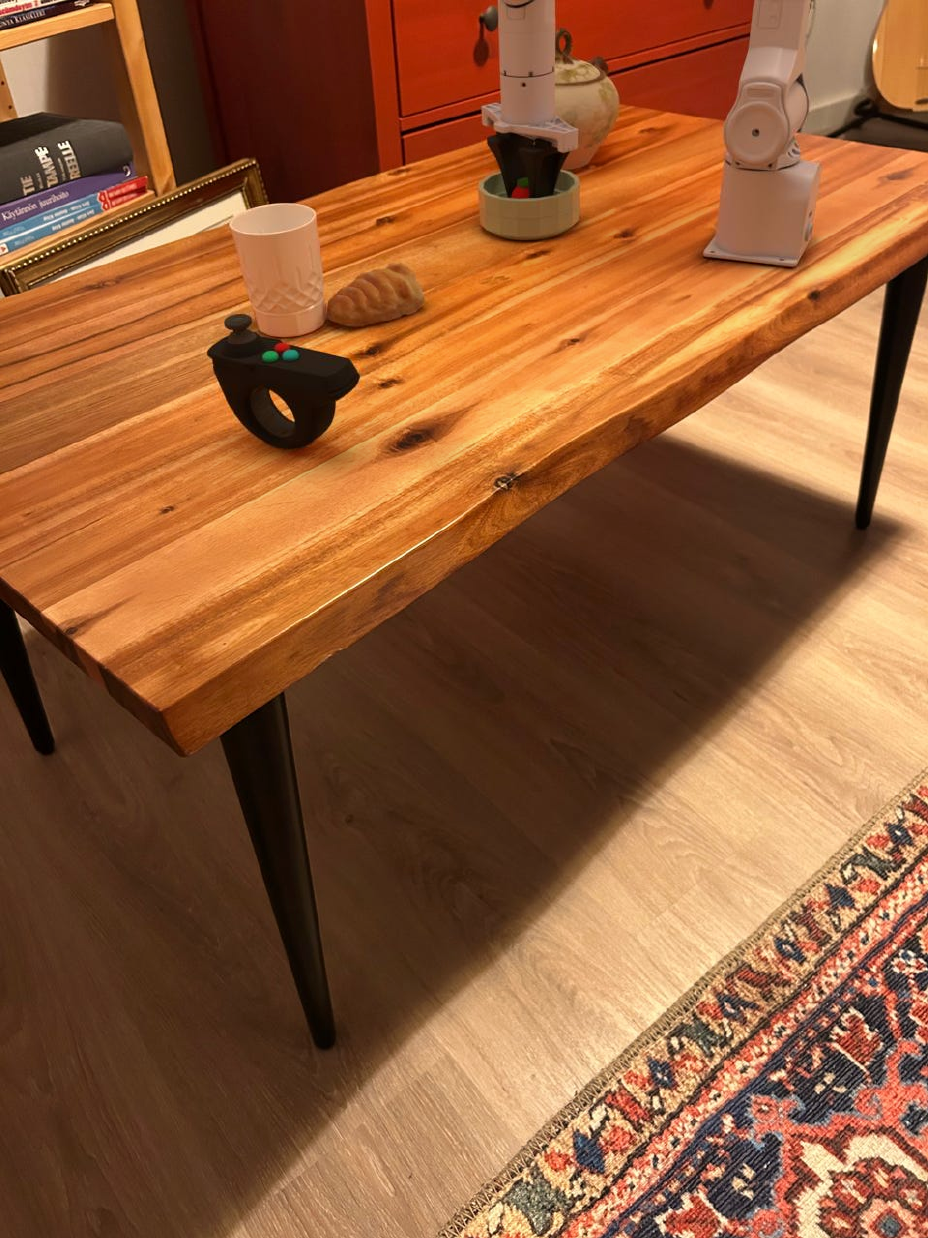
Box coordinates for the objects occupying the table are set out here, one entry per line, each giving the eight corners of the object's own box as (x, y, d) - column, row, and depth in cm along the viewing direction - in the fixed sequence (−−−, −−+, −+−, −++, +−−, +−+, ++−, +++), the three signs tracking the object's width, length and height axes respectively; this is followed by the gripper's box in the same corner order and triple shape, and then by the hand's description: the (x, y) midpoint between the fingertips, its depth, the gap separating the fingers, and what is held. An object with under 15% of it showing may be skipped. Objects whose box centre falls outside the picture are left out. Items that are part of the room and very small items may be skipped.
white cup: (345, 309, 96) (330, 205, 89) (311, 344, 90) (292, 236, 84) (275, 302, 98) (255, 200, 92) (237, 336, 93) (213, 231, 86)
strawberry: (551, 214, 110) (551, 176, 108) (538, 226, 108) (538, 187, 105) (519, 211, 112) (518, 173, 109) (505, 223, 109) (504, 184, 106)
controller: (253, 416, 81) (226, 301, 74) (377, 447, 76) (360, 327, 70) (220, 441, 78) (190, 324, 72) (346, 475, 73) (326, 353, 67)
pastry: (352, 339, 91) (346, 299, 88) (313, 318, 95) (307, 280, 92) (431, 308, 95) (427, 269, 92) (391, 289, 99) (387, 251, 97)
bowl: (592, 211, 112) (594, 171, 109) (557, 247, 105) (557, 204, 102) (504, 202, 116) (503, 163, 113) (464, 236, 109) (461, 194, 106)
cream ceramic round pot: (559, 133, 136) (560, 8, 126) (649, 149, 128) (658, 18, 118) (467, 172, 125) (460, 40, 115) (559, 193, 117) (560, 53, 107)
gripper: (456, 66, 103) (463, 198, 112) (539, 90, 94) (540, 232, 103) (509, 54, 106) (512, 183, 115) (595, 76, 97) (591, 215, 106)
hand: (529, 205), depth 109 cm, fingers closed on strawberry, 4 cm apart
